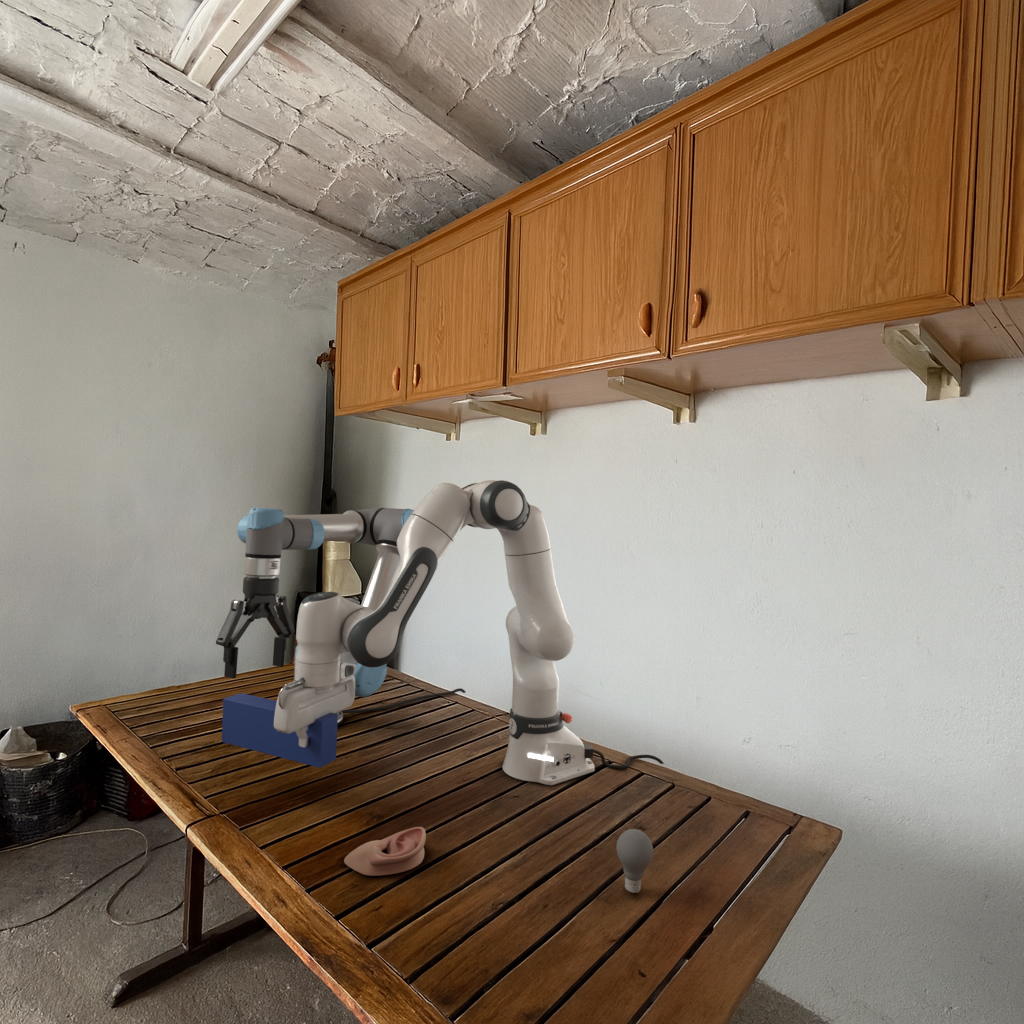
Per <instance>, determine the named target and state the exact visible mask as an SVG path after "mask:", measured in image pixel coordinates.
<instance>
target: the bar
mask: <svg viewBox="0 0 1024 1024" xmlns="http://www.w3.org/2000/svg"><path fill="white" fill-rule="evenodd" d="M276 703H277V700H275V699H270V698H266V697H260V696H256V695H252V694H247V693H242V692H240V693H237V694H233V695H231V696H228V697H224V698H223V699H222V724H221V725H222V727H221V743H224V744H227V745H232V746H234V747H235V746H236V747H240V748H243V749H246V750H251V751H254V752H258V753H261V754H266V755H270V756H274V757H278V758H281V759H284V760H289V761H292V762H297V763H299V764H303V765H304V764H305V765H308V766H311V767H316V768H319V769H321V768H323V767H325V766H327V765H328V764H330V763H332V762H334V761H336V760H337V748H338V726H337V723H338V714H335V713H329V714H327V715H324V716H322V717H320V718H317V719H315V722H314V723H312V724H310V725H308V730H307V731H306V733H307V736H310V737H311V741H310V742H311V744H310V745H309V746H307V747H300V746H299V737H298V736H297V734H296V732H295V731H294V732H292V733H289V734H287V733H282V732H278V731H277V730H276V729H275V728H274V716H275V708H276Z"/></svg>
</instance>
